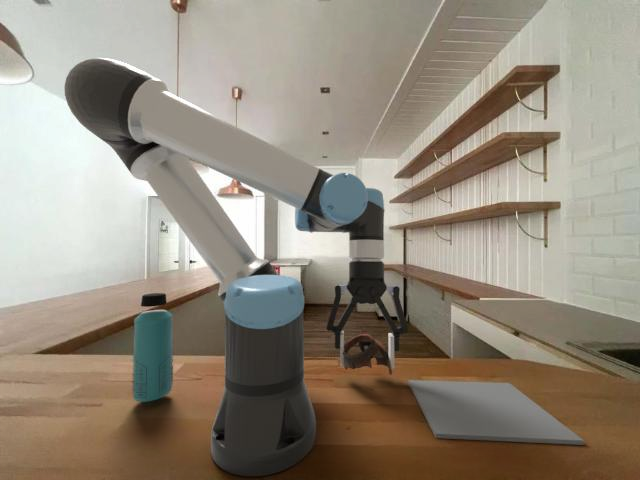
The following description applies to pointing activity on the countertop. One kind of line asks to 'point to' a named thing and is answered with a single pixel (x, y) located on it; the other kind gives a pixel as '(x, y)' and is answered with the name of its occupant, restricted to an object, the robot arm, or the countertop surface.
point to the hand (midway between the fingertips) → (366, 364)
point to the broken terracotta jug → (365, 353)
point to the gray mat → (487, 413)
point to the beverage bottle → (152, 351)
